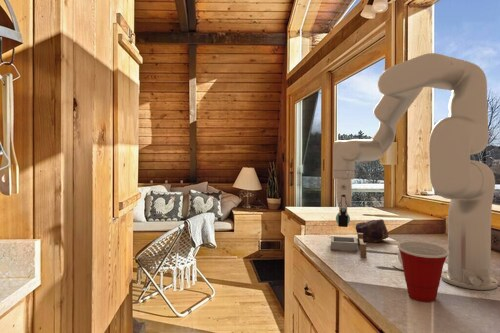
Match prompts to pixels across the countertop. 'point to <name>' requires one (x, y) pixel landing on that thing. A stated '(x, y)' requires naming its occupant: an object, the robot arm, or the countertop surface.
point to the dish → (344, 243)
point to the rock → (372, 230)
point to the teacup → (400, 263)
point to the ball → (337, 218)
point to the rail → (361, 245)
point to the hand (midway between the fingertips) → (342, 224)
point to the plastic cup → (422, 268)
